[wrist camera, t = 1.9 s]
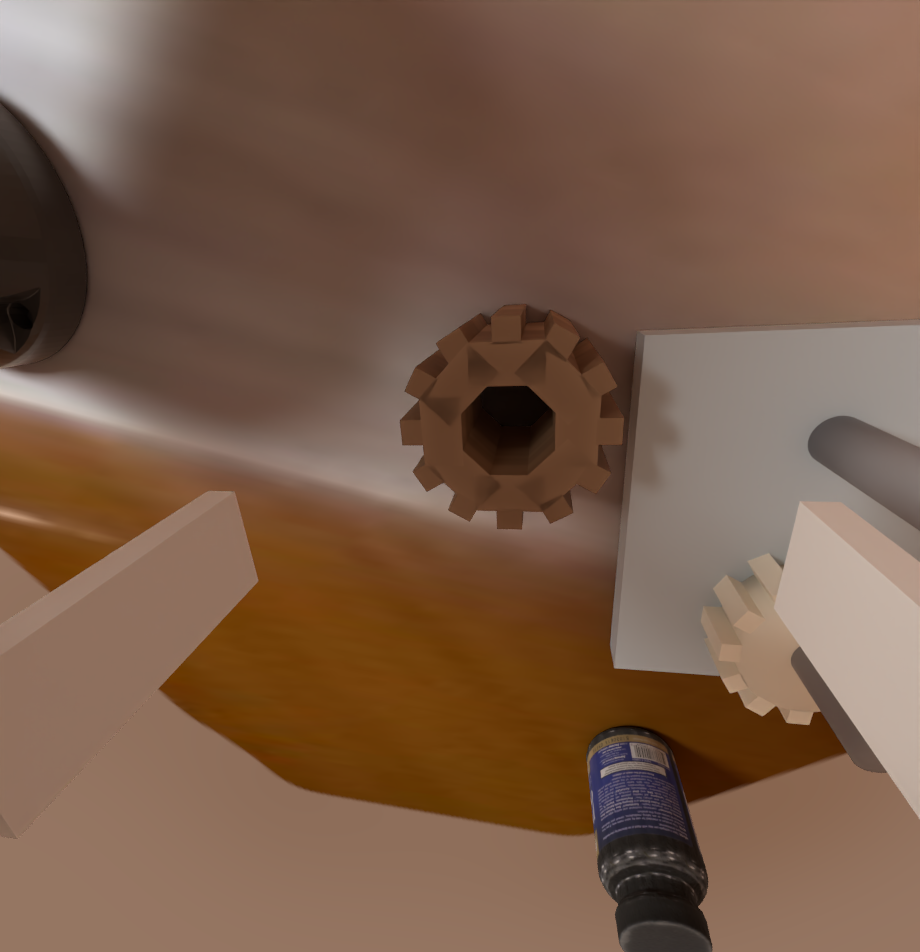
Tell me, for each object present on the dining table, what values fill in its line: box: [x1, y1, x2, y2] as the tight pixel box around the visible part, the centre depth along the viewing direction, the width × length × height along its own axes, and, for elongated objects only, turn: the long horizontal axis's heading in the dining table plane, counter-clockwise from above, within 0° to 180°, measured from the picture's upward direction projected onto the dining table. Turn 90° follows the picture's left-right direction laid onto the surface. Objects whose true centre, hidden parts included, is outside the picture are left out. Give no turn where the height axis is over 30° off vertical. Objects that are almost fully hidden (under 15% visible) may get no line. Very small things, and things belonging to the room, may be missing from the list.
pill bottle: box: [586, 727, 712, 952], centre depth 30 cm, size 6×6×11 cm
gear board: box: [610, 319, 920, 773], centre depth 21 cm, size 18×20×10 cm
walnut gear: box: [400, 304, 624, 529], centre depth 22 cm, size 9×9×7 cm
